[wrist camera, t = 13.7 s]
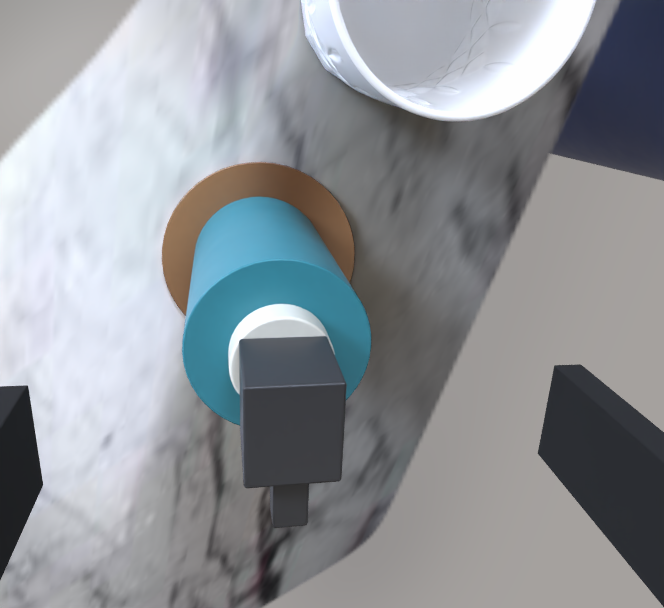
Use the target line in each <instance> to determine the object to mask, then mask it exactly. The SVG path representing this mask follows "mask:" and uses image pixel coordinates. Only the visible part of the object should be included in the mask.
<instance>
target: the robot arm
mask: <svg viewBox="0 0 664 608" xmlns="http://www.w3.org/2000/svg"><path fill="white" fill-rule="evenodd" d="M538 454H539V455H540V457H541V458H542V459H543V460H544V461H545V463H546V464H547V465H548V466H549V468H550V469H551V470H552V471H553V472H554V474H555V475H556V476H557V477H558V479H559V480H560V481H561V482H562V483H563V485H564V486H565V487H566V488H567V489H568V491H569V492H570V493H571V494H572V496H573V497H574V498H575V499H576V501H577V502H578V503H579V504H580V505H581V507H582V508H583V509H584V510H585V511H586V513H587V514H588V515H589V516H590V518H591V519H592V520H593V521H594V522H595V524H596V525H597V526H598V527H599V528H600V530H601V531H602V532H603V533H604V535H605V536H606V537H607V538H608V539H609V541H610V542H611V543H612V544H613V546H614V547H615V548H616V549H617V550H618V552H619V553H620V554H621V555H622V557H623V558H624V559H625V560H626V561H627V563H628V564H629V565H630V566H631V567H632V569H633V570H634V571H635V572H636V574H637V575H638V576H639V577H640V579H641V580H642V581H643V582H644V583H645V585H646V586H647V587H648V588H649V589H650V591H651V592H652V593H653V594H654V596H655V597H656V598H657V599H658V600H659V602H660V603H661V604H662V605H663V607H664V432H663V431H661V430H660V429H659V428H658V427H656V426H655V425H654V424H653V423H651V422H650V421H649V420H648V419H647V418H645V417H644V416H643V415H642V414H641V413H639V412H638V411H637V410H636V409H634V408H633V407H632V406H631V405H630V404H628V403H627V402H626V401H625V400H623V399H622V398H621V397H620V396H619V395H617V394H616V393H615V392H614V391H612V390H611V389H610V388H609V387H607V386H606V385H605V384H604V383H603V382H601V381H600V380H599V379H598V378H597V377H595V376H594V375H593V374H592V373H591V372H589V371H588V370H587V369H585V368H584V367H583V366H582V365H557V366H554V371H553V376H552V381H551V387H550V392H549V397H548V402H547V408H546V413H545V418H544V424H543V429H542V434H541V440H540V445H539V450H538ZM42 486H43V481H42V475H41V468H40V461H39V455H38V448H37V442H36V435H35V429H34V422H33V416H32V409H31V403H30V396H29V390H28V386H4V387H0V579H1V577H2V575H3V573H4V571H5V568H6V566H7V564H8V562H9V559H10V557H11V555H12V553H13V551H14V548H15V546H16V544H17V542H18V540H19V537H20V535H21V533H22V531H23V528H24V526H25V524H26V522H27V520H28V517H29V515H30V513H31V511H32V508H33V506H34V504H35V502H36V500H37V497H38V495H39V493H40V491H41V488H42Z"/></svg>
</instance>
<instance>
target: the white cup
mask: <svg viewBox="0 0 664 608" xmlns="http://www.w3.org/2000/svg"><path fill="white" fill-rule="evenodd" d="M595 3H596V0H301V4H302V12H303V20H304V28H305V35H306V38H307V40H308V41H309V43H310V45H311V46H312V48H313V50H314V51H315V53H316V55H317V56H318V58H319V60H320V62H321V63H322V65H323V67H324V68H325V69H326V70H327V71H328V72H330V73H331V74H333V75H335V76H336V77H338V78H339V79H341V80H342V81H343V82H344V83H346V84H347V85H348V86H350V87H351V88H353V89H355V90H357V91H359V92H361V93H363V94H365V95H367V96H369V97H371V98H373V99H376V100H378V101H381V102H383V103H386V104H389V105H392V106H395V107H398V108H401V109H403V110H406V111H409V112H411V113H414V114H416V115H419V116H422V117H426V118H430V119H434V120H440V121H451V122H463V121H473V120H479V119H484V118H488V117H491V116H494V115H497V114H500V113H503V112H505V111H507V110H509V109H511V108H513V107H515V106H517V105H519V104H521V103H522V102H524V101H526V100H527V99H529V98H530V97H531V96H533V95H534V94H535V93H537V92H538V91H539V90H540V89H541V88H543V87H544V86H545V85H546V84H547V83H548V82H549V81H550V80H551V79H552V78H553V77H554V76H555V75H556V74H557V73H558V72H559V70H560V69H561V68H562V67H563V65H564V64H565V63H566V62H567V60H568V59H569V57H570V56H571V54H572V53H573V51H574V50H575V48H576V47H577V45H578V43H579V41H580V39H581V38H582V36H583V34H584V32H585V29H586V27H587V25H588V23H589V20H590V18H591V15H592V12H593V9H594V6H595Z"/></svg>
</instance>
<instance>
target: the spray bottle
mask: <svg viewBox="0 0 664 608" xmlns="http://www.w3.org/2000/svg"><path fill="white" fill-rule="evenodd" d="M370 351H371V330H370V323H369V320H368V317H367V313H366V311H365V309H364V307H363V304H362V302H361V301H360V299H359V298H358V296H357V294H356V293H355V291H354V290H353V288H352V286H351V285H350V283H349V282H348V280H347V278H346V277H345V275H344V274H343V272H342V270H341V269H340V267H339V266H338V264H337V262H336V261H335V259H334V258H333V256H332V254H331V253H330V251H329V250H328V248H327V246H326V245H325V243H324V242H323V240H322V238H321V237H320V235H319V234H318V232H317V230H316V229H315V227H314V226H313V224H312V223H311V221H310V220H309V219H308V218H307V217H306V216H305V215H304V214H303V213H302V212H301V211H300V210H298V209H297V208H295V207H294V206H292V205H290V204H288V203H286V202H284V201H281V200H278V199H274V198H270V197H249V198H244V199H240V200H237V201H234V202H232V203H230V204H228V205H226V206H224V207H223V208H221V209H220V210H218V211H217V212H216V213H215V214H214V215H213V216H212V217H211V218H210V219H209V220H208V221H207V223H206V224H205V226H204V227H203V229H202V230H201V232H200V235H199V237H198V240H197V243H196V247H195V253H194V260H193V268H192V275H191V282H190V290H189V297H188V305H187V312H186V319H185V327H184V334H183V343H182V355H183V363H184V367H185V371H186V374H187V377H188V379H189V381H190V384H191V386H192V387H193V389H194V390H195V392H196V394H197V395H198V396H199V397H200V399H201V400H202V401H203V402H204V403H205V404H206V405H207V406H208V407H209V408H210V409H211V410H212V411H214V412H215V413H216V414H218V415H219V416H221V417H222V418H224V419H226V420H228V421H230V422H232V423H234V424H237V425H240V433H241V449H242V466H243V482H244V487H245V488H257V487H270V509H271V518H272V525H273V527H274V528H281V527H292V526H303V525H307V523H308V496H309V483H322V482H336V481H340V480H341V476H342V458H343V440H344V422H345V405H346V400H347V399H348V398H349V397H350V395H351V394H352V393H353V392H354V390H355V389H356V388H357V386H358V384H359V383H360V381H361V379H362V377H363V375H364V373H365V370H366V368H367V365H368V361H369V358H370Z"/></svg>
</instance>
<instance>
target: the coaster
mask: <svg viewBox="0 0 664 608" xmlns="http://www.w3.org/2000/svg"><path fill="white" fill-rule="evenodd" d="M249 197H270V198H274V199H278V200H281V201H284V202H286V203H288V204H290V205H292V206H294V207H295V208H297V209H298V210H300V211H301V212H302V213H303V214H304V215H305V216H306V217H307V218H308V219H309V220H310V221H311V223H312V224H313V226H314V227H315V229H316V230H317V232H318V234H319V235H320V237H321V238H322V240H323V242H324V243H325V245H326V246H327V248H328V250H329V251H330V253H331V254H332V256H333V258H334V259H335V261H336V262H337V264H338V266H339V267H340V269H341V270H342V272H343V274H344V275H345V277H346V278H347V280H348V282H349V283H350V281H351V277H352V273H353V268H354V259H355V254H354V241H353V235H352V231H351V228H350V224H349V222H348V220H347V217H346V215H345V213H344V211H343V210H342V208H341V206H340V205H339V203H338V202H337V200H336V199H335V198H334V197H333V196H332V194H331V193H330V192H329V191H328V190H327V189H326V188H325V187H324V186H323V185H321V184H320V183H319V182H317V181H316V180H315V179H313V178H312V177H310V176H309V175H307V174H305V173H303V172H301V171H299V170H296V169H294V168H291V167H288V166H285V165H280V164H276V163H266V162H251V163H243V164H237V165H233V166H230V167H227V168H224V169H221V170H219V171H217V172H215V173H213V174H211V175H209V176H207V177H206V178H204V179H203V180H201V181H200V182H198V183H197V184H196V185H195V186H194V187H193V188H192V189H190V190H189V191H188V192H187V194H186V195H185V196H184V197H183V198H182V199H181V201H180V202H179V204H178V205H177V207H176V208H175V210H174V211H173V213H172V216H171V218H170V220H169V222H168V225H167V228H166V231H165V235H164V240H163V246H162V264H163V272H164V276H165V280H166V283H167V286H168V289H169V291H170V293H171V296H172V297H173V299H174V301H175V302H176V304H177V306H178V307H179V308H180V310H181V311H182V312H183V313H184V315H185V316H186V312H187V305H188V297H189V290H190V282H191V275H192V268H193V260H194V253H195V247H196V243H197V240H198V237H199V235H200V232H201V230H202V229H203V227H204V226H205V224H206V223H207V221H208V220H209V219H210V218H211V217H212V216H213V215H214V214H215V213H216V212H217V211H218V210H220V209H221V208H223V207H224V206H226V205H228V204H230V203H232V202H234V201H237V200H240V199H244V198H249Z"/></svg>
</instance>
